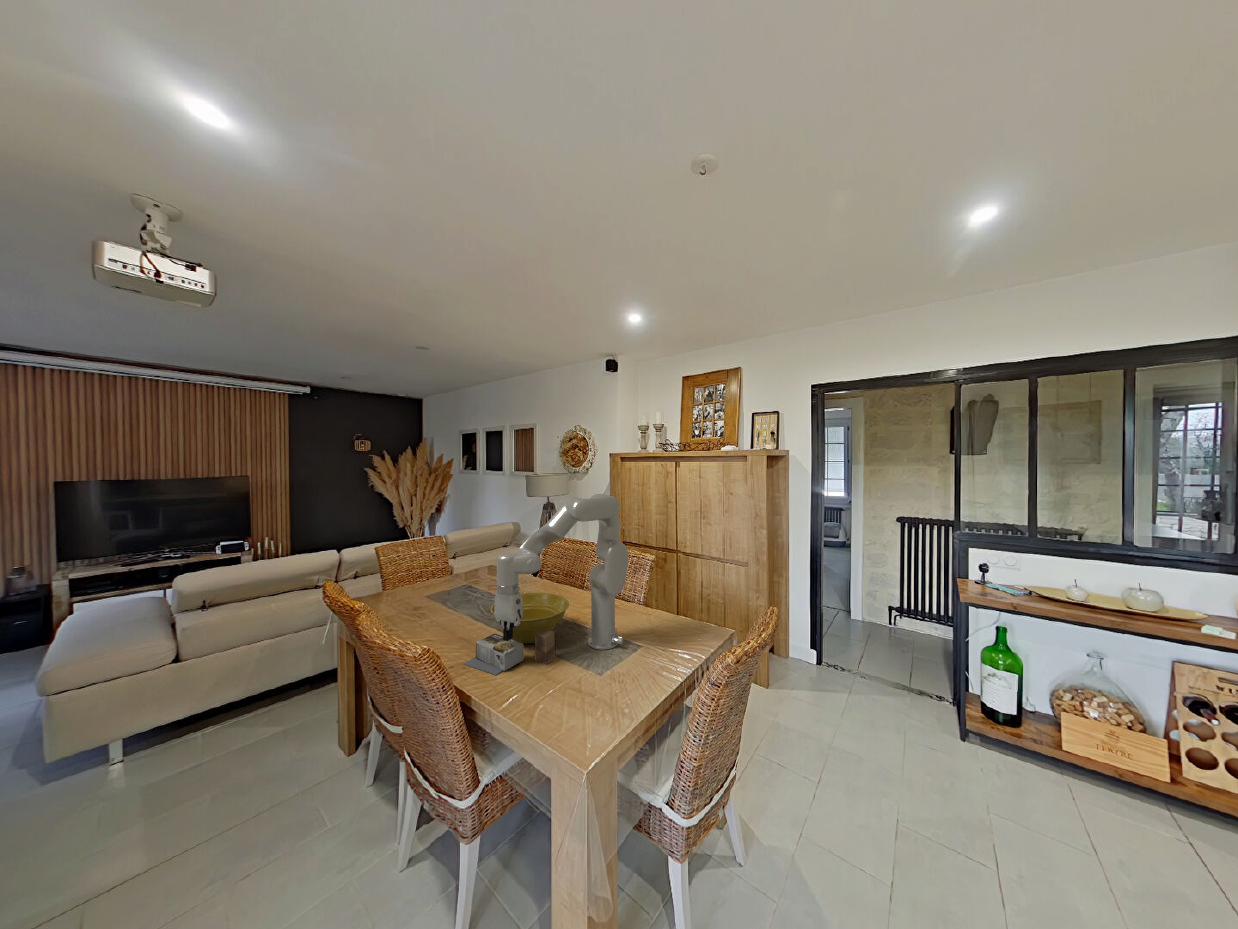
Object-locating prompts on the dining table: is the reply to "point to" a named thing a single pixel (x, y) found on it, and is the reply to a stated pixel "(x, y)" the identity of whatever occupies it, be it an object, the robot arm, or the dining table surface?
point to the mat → (483, 666)
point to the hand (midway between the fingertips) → (508, 639)
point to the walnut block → (544, 647)
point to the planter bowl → (538, 615)
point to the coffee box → (499, 651)
